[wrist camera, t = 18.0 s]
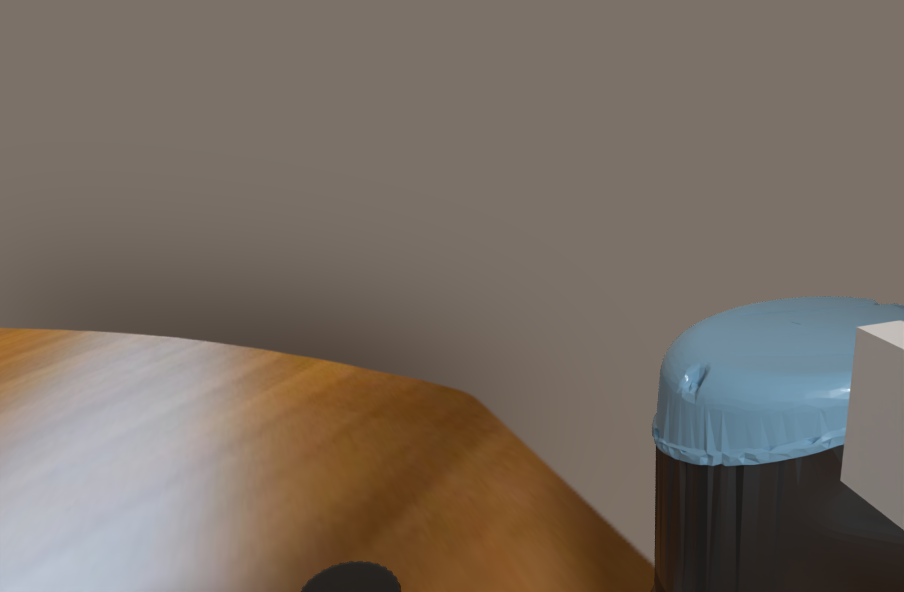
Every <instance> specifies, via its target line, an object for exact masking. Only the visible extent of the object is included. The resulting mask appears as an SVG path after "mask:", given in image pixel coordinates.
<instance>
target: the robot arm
mask: <svg viewBox="0 0 904 592" xmlns="http://www.w3.org/2000/svg"><path fill="white" fill-rule="evenodd" d="M652 436H653V437H654V440H655V444H656V497H655V498H656V499H655V501H656V502H655V503H656V504H655V578H654V586H653V588H652V590H651V592H904V306H903V305H899V304H883V305H879V304H878V303H877V302H876V301H875V300H872V299H865V298H853V297H826V296H824V297H799V298H788V299H779V300H772V301H765V302H759V303H754V304H750V305H745V306H741V307H737V308H733V309H730V310H727V311H725V312H722V313H718V314H715V315H713V316H710V317H708V318H706V319H704V320H702V321H700V322H698V323H696V324H695V325H693V326H691V327H690V328H688V329H687V330H686V331H684V332H683V333H682V334H681V335H680V336H679V337H678V338H677V339H676V340H675V341H674V342H673V343H672V344H671V346H670V347H669V349H668V350H667V352H666V354H665V356H664V359H663V362H662V365H661V370H660V381H659V392H658V404H657V413H656V415H655V417H654V420H653V424H652Z"/></svg>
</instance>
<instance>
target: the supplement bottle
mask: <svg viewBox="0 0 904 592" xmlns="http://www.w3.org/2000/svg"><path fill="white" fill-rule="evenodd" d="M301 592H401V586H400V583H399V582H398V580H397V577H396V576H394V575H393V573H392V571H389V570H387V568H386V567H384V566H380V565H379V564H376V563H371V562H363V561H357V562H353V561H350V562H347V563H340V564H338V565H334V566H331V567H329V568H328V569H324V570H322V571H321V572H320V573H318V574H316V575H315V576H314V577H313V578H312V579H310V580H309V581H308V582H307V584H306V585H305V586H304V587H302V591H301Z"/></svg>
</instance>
